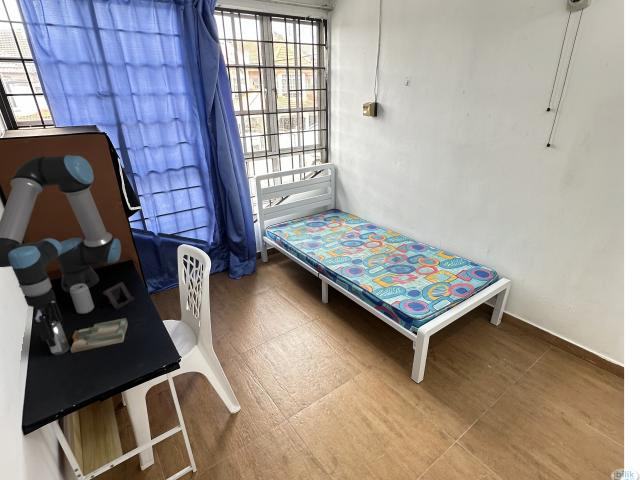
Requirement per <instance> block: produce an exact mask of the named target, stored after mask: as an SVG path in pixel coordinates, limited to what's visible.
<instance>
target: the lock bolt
mask: <svg viewBox="0 0 640 480" xmlns="http://www.w3.org/2000/svg"><path fill="white" fill-rule="evenodd" d="M87 334H90V335H91V334H92V333H91V330H87V331H82V332H79V330H77V329H76V330H74V333H73V335H72V340H73V343H74V342H76V341H78V340H80V339H85V338H86V335H87Z"/></svg>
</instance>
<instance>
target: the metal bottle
mask: <svg viewBox="0 0 640 480" xmlns="http://www.w3.org/2000/svg"><path fill="white" fill-rule="evenodd" d="M51 323H52V327H53V331H54V335H56V336H57V339H58V341H59V344H60V346H61V349H62V351H61V352H56V353H52V355H54V356H60V355H63V354H65V353H67V352H68V351H69V350H70V345H69V342H68V340H67V337H66V335H65V331H64V329H63V325H61V323H60V322H59V321H56V320H51Z"/></svg>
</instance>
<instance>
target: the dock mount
mask: <svg viewBox="0 0 640 480" xmlns="http://www.w3.org/2000/svg"><path fill="white" fill-rule="evenodd" d="M128 324H129V323H128V320H127V318H120V319H115V320H110V321H109V320H108V321H103V322H99V323H94V324H93V327H87V328H82V329H79V330H78V331H79V332H82V331H87V330H91V333H92V334H91V335H90V334H87V335H86V338H85V339H80V340H78V341H76V342H74V341H73V343H72V345H71V347H70V348H69V350H70V352H71V354H73V353H77V352H82V351H87V350H91V349H96V348H101V347H107V346H110V345H114V344H119V343H124V340H125V336H126V332H127V329H128V326H129V325H128Z"/></svg>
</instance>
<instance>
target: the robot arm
mask: <svg viewBox="0 0 640 480" xmlns="http://www.w3.org/2000/svg"><path fill="white" fill-rule="evenodd" d="M94 178H95V176H94V171H93V169H92V165H91V164H90V162H89V161H88V160H87V159H86V158H84V157H83V156H80V155H69V154H67V155H55V156H53V155H52V156H43V155H42V156H36V157H33V158H30V159H29V160H27V161H25V162H24V163H23V164H21V165H20V166H19V167H18V168H17V170H15V172H14V174H13V176H12V178H11V180H10V183H9V184H10V186H11V190H10V192H9V195H8V199H7V201H6V204H5V206H4V210H3V212H2V214H1V217H0V267H2V268H9V267H11V268H12V270H13V273H14V275H15V278H16V279H17V281H18V284H19V285H18V287H19V288H20V289H21V292H22V295H24V296H23V297H24V300H25V303H26V304H27V306H29V307H31V308H34V311H35V314H36V316H33V317H32V321H33V322H34V324H35V327H36V329H37V331H38V334H39V337H40V339H41V341H42V342H47V344H48V346H49V349H50V352H51V353H52V354H53V353H56V352H61V351H62V349H61V346H60V344H59V341H58V339H57V336H56V335H54V331H53V327H52V323H51V320H56V321H59V322H60V323H61V326H64V325H65V322H64V321H63V316H62V313H61V311H60V309H59V306H58V303H57V299H56V294H55V291H54V288H53V285H52V283H51V280H50V278H49V276H48V273H47V270H46V268H47V267H48V266H49V265H50V264H51V263H52V262H55V260H57V263H58V266H59V268H60V272H61V274H62V275H61V288H62V290H63V291H64V292H66V293H67V292H68V293H70V288H71V287H72V286H74V285H76V284H81V283H84V284H86V286H88V289H90V288H93V287H94V286H96V285H97V284H98V283H99V282H100V278H99V275H98V274H97V273H96V272H95V270H94V269H93V267H92V265H102V264H108V265H109V264H112V263H117V262H118V261H119V260H120V257H121V254H122V253H121V252H122V244H121V241H120V240H119V239H118V238H113V235H112V233H110V232H107V229H106V228H105V225H104V223H103V220H102V218H101V215H100V213H99V209H98V207H97V205H96V203H95V200H94V198H93V196H92V193H91V190H90V188H91V187H92V183H93V182H94ZM48 186H51V187H52V186H56V187H57V189H58V190H59V192H60V193H62V194H65V195H66V198H67V200H68V203H69V205H70V206H71V209H72V211H73V213H74V215H75V217H76V220H77V222H78V224H79V225H80V228H81V230H82V233H83V235H84V237H85V239H83V237H71V238H68V239H66V240H62V241H58V240H57V239H54V238H51V237H50V238H44V239H41V240H39V241H38V242H30V243H29V242H28V243H23V242H24V241H23V240H24V239H25V238H24V237H25V235H26V234H25V233H26V232H27V228H28V225H29V222H30V219H31V216H32V213H33V210H34V206H35V204H36V200H37V197H38V195H39V194H41V193H42V191H43V189H44V188H45V187H48Z"/></svg>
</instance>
